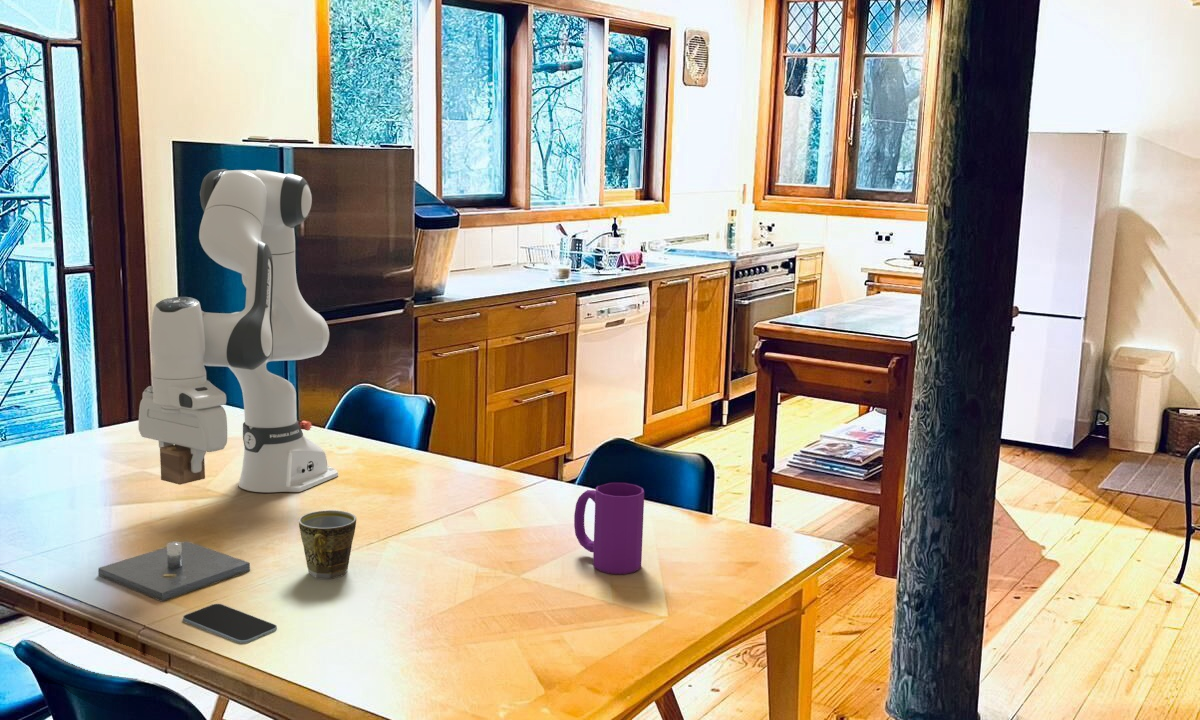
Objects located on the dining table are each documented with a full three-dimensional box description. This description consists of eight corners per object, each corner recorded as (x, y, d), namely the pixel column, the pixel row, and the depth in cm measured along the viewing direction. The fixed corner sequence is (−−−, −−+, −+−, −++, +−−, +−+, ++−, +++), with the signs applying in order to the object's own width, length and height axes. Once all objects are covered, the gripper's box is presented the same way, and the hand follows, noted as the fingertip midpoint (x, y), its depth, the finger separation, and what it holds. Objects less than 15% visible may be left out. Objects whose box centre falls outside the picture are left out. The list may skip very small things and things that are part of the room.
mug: (618, 579, 207) (621, 500, 204) (557, 557, 217) (559, 480, 215) (651, 567, 214) (655, 489, 211) (590, 545, 224) (593, 471, 221)
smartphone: (242, 642, 176) (179, 617, 184) (242, 647, 176) (179, 622, 184) (280, 626, 182) (217, 602, 190) (280, 631, 182) (217, 607, 190)
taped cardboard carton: (186, 473, 206) (185, 440, 205) (205, 478, 203) (203, 444, 202) (161, 479, 201) (159, 446, 200) (179, 484, 198) (178, 450, 198)
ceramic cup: (308, 561, 211) (307, 509, 209) (362, 563, 211) (362, 511, 209) (287, 587, 198) (286, 532, 196) (344, 590, 198) (344, 535, 196)
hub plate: (186, 548, 215) (185, 520, 214) (249, 570, 205) (249, 541, 204) (98, 576, 201) (97, 546, 200) (162, 601, 191) (160, 570, 190)
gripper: (127, 387, 203) (130, 463, 205) (202, 401, 191) (204, 481, 194) (158, 382, 208) (161, 456, 210) (232, 395, 197) (235, 474, 199)
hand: (182, 468), depth 202 cm, fingers closed on taped cardboard carton, 5 cm apart
